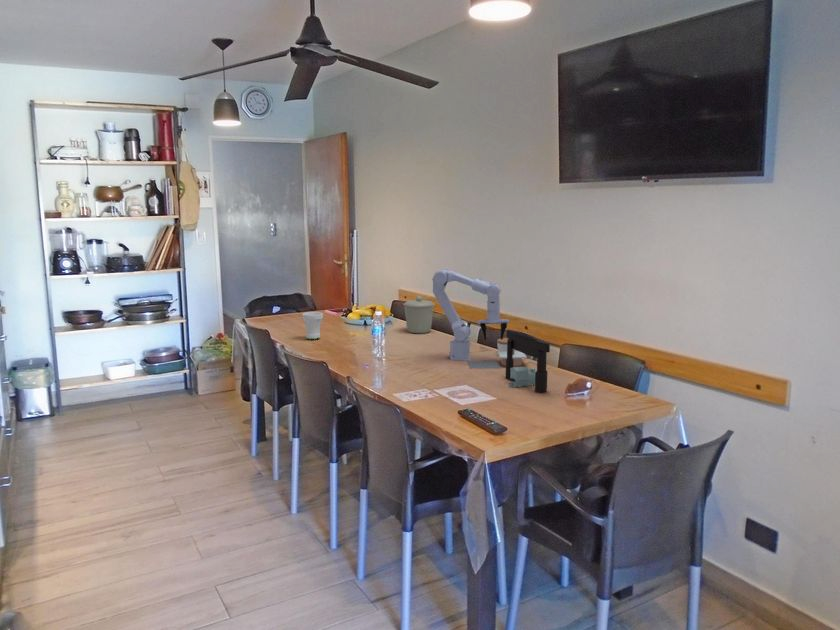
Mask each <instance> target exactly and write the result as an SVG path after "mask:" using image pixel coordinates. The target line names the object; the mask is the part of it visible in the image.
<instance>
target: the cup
mask: <svg viewBox="0 0 840 630" xmlns="http://www.w3.org/2000/svg"><path fill="white" fill-rule="evenodd" d="M301 316H302V320H303V322H304V325H305V329H306V331H305V332H306V333H305V338H306V340H308V339H311V340H313V339H316V340H318V339H317V338H320V339H321V330H320V329H321V325H322V320H323V318H324V313H323V312H320V311H308V312H303V313H302V314H301Z"/></svg>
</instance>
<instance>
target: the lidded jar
mask: <svg viewBox="0 0 840 630" xmlns="http://www.w3.org/2000/svg"><path fill="white" fill-rule="evenodd" d="M508 339H509V338H507V337H503V339H502V340H501V338H498V339H497V340H496V344H497V345H496V346H497V351H507V340H508ZM515 351H517V350H515Z"/></svg>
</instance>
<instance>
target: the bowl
mask: <svg viewBox="0 0 840 630" xmlns="http://www.w3.org/2000/svg"><path fill="white" fill-rule="evenodd" d="M500 359H501V363H500V364H501V365H502V366H505V367H506V359H507V358H500ZM513 361H514V362H513V368H514V367H522V365H523V358H513Z"/></svg>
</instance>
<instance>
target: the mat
mask: <svg viewBox="0 0 840 630" xmlns="http://www.w3.org/2000/svg"><path fill="white" fill-rule="evenodd" d="M466 361H467V365H468V368H469V369H476V370H477V369H481V370H482V369H488V370H489V369H501V366H500V364H499V362H498V361H497V360H466Z"/></svg>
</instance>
